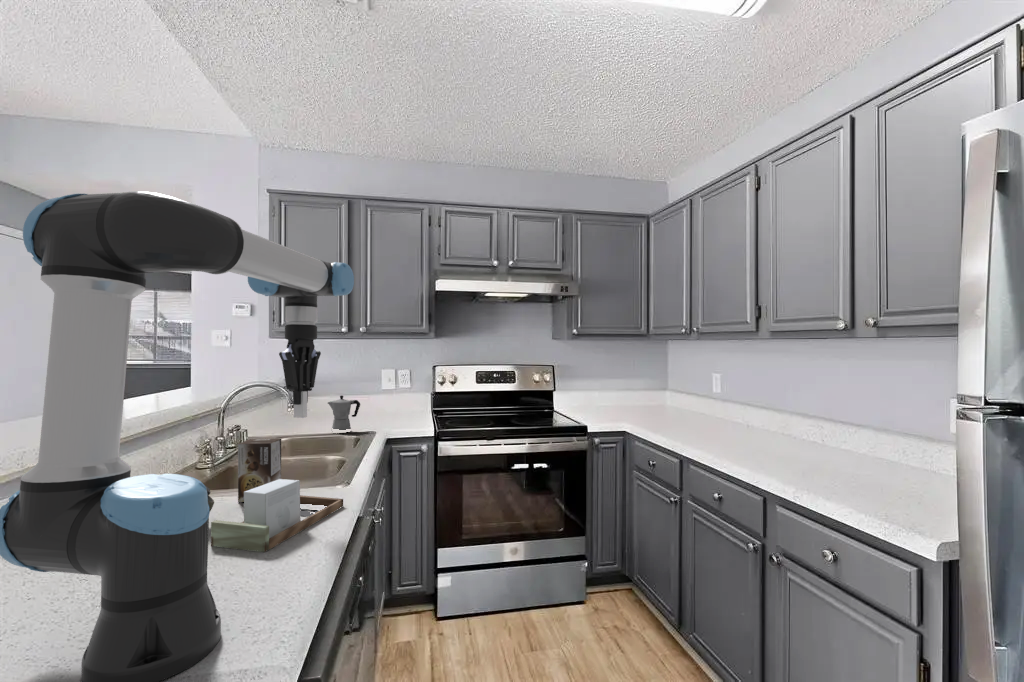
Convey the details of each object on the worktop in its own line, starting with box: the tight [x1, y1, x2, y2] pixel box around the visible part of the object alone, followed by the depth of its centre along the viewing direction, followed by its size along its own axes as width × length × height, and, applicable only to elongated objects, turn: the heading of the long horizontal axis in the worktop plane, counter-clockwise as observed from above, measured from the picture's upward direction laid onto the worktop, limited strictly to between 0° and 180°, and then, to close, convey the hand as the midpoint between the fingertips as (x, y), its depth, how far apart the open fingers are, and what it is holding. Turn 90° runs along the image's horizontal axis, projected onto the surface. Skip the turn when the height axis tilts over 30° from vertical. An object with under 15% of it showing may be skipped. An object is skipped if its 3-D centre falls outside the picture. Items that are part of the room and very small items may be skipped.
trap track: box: [210, 494, 344, 553], centre depth 110 cm, size 28×13×5 cm, turn 167°
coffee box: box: [237, 438, 282, 503], centre depth 128 cm, size 9×6×16 cm
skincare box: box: [243, 478, 302, 538], centre depth 106 cm, size 10×6×10 cm, turn 163°
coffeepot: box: [327, 395, 361, 430], centre depth 229 cm, size 15×9×18 cm, turn 100°
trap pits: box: [300, 508, 318, 517], centre depth 119 cm, size 8×12×1 cm, turn 77°
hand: (300, 417), depth 118 cm, fingers closed
